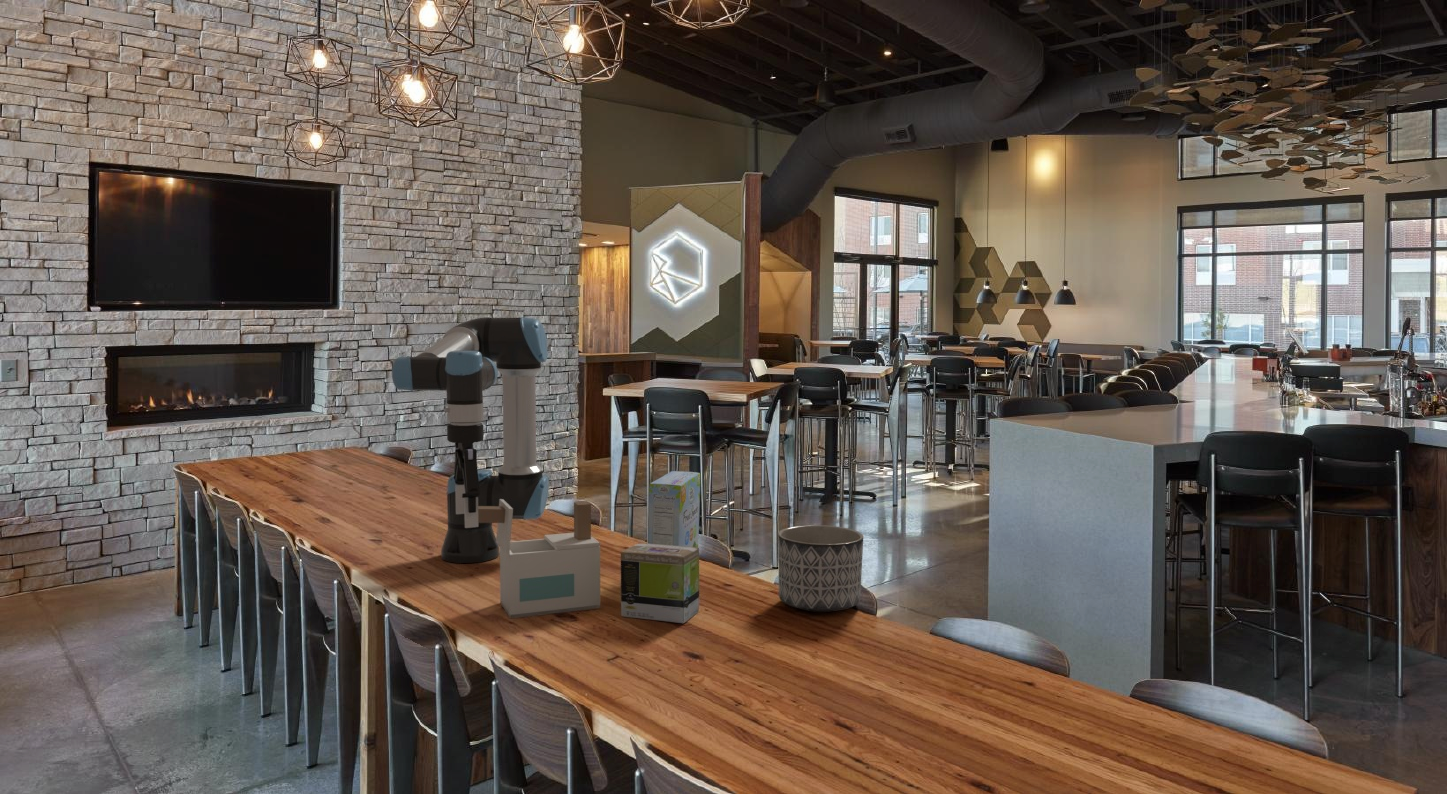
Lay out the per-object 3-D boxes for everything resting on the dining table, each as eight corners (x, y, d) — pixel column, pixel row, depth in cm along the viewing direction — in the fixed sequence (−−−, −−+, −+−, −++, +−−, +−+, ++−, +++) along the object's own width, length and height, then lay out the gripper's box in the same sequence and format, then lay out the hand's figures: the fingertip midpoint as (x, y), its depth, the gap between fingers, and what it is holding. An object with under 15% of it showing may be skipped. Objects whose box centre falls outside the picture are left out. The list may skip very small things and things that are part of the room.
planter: (766, 612, 208) (767, 539, 207) (790, 589, 226) (791, 522, 225) (851, 622, 202) (853, 547, 200) (869, 598, 220) (871, 529, 218)
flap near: (499, 542, 212) (459, 542, 208) (503, 499, 211) (463, 498, 208) (509, 554, 201) (467, 554, 197) (513, 508, 201) (471, 508, 197)
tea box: (700, 611, 208) (700, 546, 207) (683, 625, 199) (684, 556, 198) (638, 604, 213) (638, 540, 212) (619, 617, 204) (619, 550, 203)
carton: (500, 602, 213) (499, 503, 211) (586, 593, 221) (586, 497, 219) (510, 618, 202) (509, 513, 200) (600, 608, 210) (600, 507, 208)
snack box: (680, 591, 224) (681, 485, 222) (645, 589, 225) (645, 483, 223) (700, 568, 245) (701, 470, 243) (668, 566, 247) (669, 469, 244)
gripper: (439, 416, 211) (441, 509, 213) (455, 431, 188) (457, 534, 190) (474, 415, 214) (475, 507, 216) (493, 429, 191) (494, 531, 193)
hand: (466, 520), depth 203 cm, fingers open, 13 cm apart
